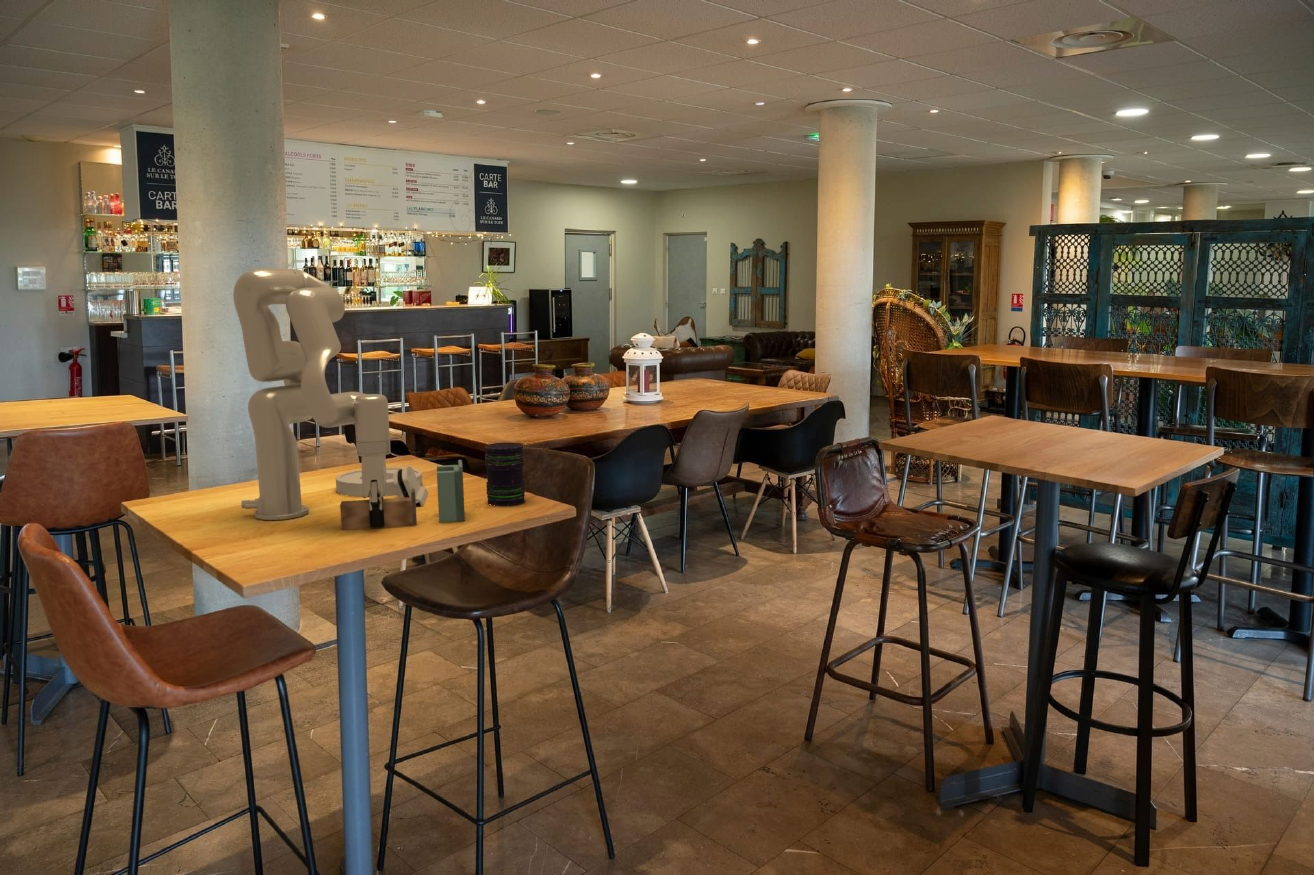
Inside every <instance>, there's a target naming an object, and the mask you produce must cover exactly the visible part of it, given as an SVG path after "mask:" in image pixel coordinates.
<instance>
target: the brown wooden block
mask: <svg viewBox="0 0 1314 875" xmlns="http://www.w3.org/2000/svg"><path fill="white" fill-rule="evenodd" d="M378 501H379V500H378ZM379 505H380V504H379ZM339 506H340V507H339V509H340V510H339V511H340V521H341V522H340V523H341V524H340V527H341V531H349V530H350V531H351V530H352V529H353V530H367V528H368V529H382V528H384V527H385V528H397V527H398V528H399V527H413V526H412V525H416V526H417V524H418V523H417V520H418V519H417V503H416V497H415V489H412V490H411V497H407V498H399V497H391V498H383V499H382V510H384V527H373V528H371V527H370V517H369V510H370V502H369V499H358V500H355V499H354V500H341V502H340V505H339ZM353 530H352V531H353Z"/></svg>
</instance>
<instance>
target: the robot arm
mask: <svg viewBox="0 0 1314 875" xmlns="http://www.w3.org/2000/svg"><path fill="white" fill-rule="evenodd" d="M232 295H233V296H232V297H233V303H234V307H235V310H236V314H237V317H238V320H239V323H240V326H241V327H240V328H241V332H242V333H241V334H242V339H243V344H244V350H245V358H246V363H247V367H248V371H249V372H248V373H249V374H250V376H251V377H252V378H253V380H255V381H256V382H262V383H269V382H280V381H283V384H284V385H279V386H270V387H266V388H265V387H264V388H262V389H258V390H257V391H256V392H254V393H253V394H252V395H251V396H250V398H249V400H248V403H247V409H248V415H249V419H250V422H251V426H252V430H253V435H254V436H253V437H254V444H255V454H256V463H257V464H256V466H257V478H258V481H257V482H258V492H259V497H258V498H255V499H254V500H249V499H247V500H241V509H245V510H252V509H254V510H255V511H254V513H253V516H254V518H255V519H258V520H264V521H280V520H289V519H290V520H291V519H295V518H299V517H303V516H306V515H307V514H308V513H309V512H310V511H309V510H310V509H309V506H307V505H303V504H302V491H301V476H300V467H299V466H300V464H299V451H298V448H299V447H298V442H297V438H296V436H295V434H294V432H293V431H292V429H291V427H290V426H289V425H291V424H297V423H303V422H307V421H310V420H312V419H313V421H314V422H315V423H316V424H317V425H319V426H320V427H322V428H327V429H328V428H329V429H330V428H337V427H341V426H348V425H354V428H355V441H356V442H355V444H356V446H355V448H356V456H358V457H361V470H362V494H363V497H362V498H363V500H367V498H368V497H369V498H368V500H369V502H370V510H369V517H370V527H371V528H370V529H374V528H373V527H384V510H382V499H384V497H385V496H384V495H385V491H386V468H387V461H386V460H387V459H386V455H390V454H391V438H390V435H391V434H390V418H389V402H388V398H387V397H386V396H385V395H384V394H381V393H380V394H378V393H368V394H367V393H363V392H359V391H346V392H337V393H332V394H331V392H330V390H329V388H328V384H327V380H326V375H325V374H326V369H327V365H328V363H329V362H330V360H332V358H334V357H336V356H337V355H338V354H339V353H340V352H341V349H342V345H341V342H340V339H339V338H338V334H337V332H336V329H335V328H334V324H333V323H336V322H338V321H340V320H341V319H342V318H343V316H344V315H345V310H346V306H345V301H344V299H343V297H342V296H341V294H340V293H339V291H337V290H336V289H335V288H333V287H332V286H331V285H329V284H327V283H326V282H324V281H322V280H320V279H319V278H317V277H315V276H313V275H312V274H310V273H307V272H306V271H304V270H302V269H295V268H274V267H273V268H267V267H266V268H255V269H250V270H248V271H245V272H244V273H243V274H241V275H240V276H239V277H238V279H237V280H236V282H235V284H234V288H233V294H232ZM270 305H285V309H286V313H287V315H288V317H289V319H290V322H291V324H292V327H293V330H294V332H295V335H296V337H297V340H298V341H294V340H284V341H283V340H282V334H281V328H280V323H279V321H278V319H277V317H276V315H275V314H274V313H273V312H272V310H271V309H270V308H269V306H270ZM368 494H369V496H368ZM378 500H379V501H378ZM379 504H380V505H379Z"/></svg>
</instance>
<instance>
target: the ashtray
mask: <svg viewBox="0 0 1314 875" xmlns="http://www.w3.org/2000/svg"><path fill="white" fill-rule="evenodd" d="M403 468H404V467H386V491H385V495H384V496H383V497H392V496H398V493H397V491H396V488H395V486H394V483H393V475H394V472H396V471H397V470H399V469H403ZM412 469H413V471H414V473H415V475H416V477H417V479H418V481H419V484H420V486H422V487H423V484H424V483H423V472H422V471H421V470H419V469H415V468H412ZM335 488H336V489H335V490H336V493H337V492H338V493H340V494H339V495H341V494H342V495H341V496H345V495H348V496H347V497H352V496H354V498H355V497H356V498H363V494H362V469H357V470H353V471H352V470H351V471H347V472H343V473H341V474H339V475H337V476H336V477H335ZM338 493H337V494H338ZM368 497H369V494H368Z"/></svg>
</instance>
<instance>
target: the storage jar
mask: <svg viewBox="0 0 1314 875" xmlns="http://www.w3.org/2000/svg"><path fill="white" fill-rule="evenodd" d="M484 450H485V452H484V453H485V457H484V459H485V460H484V461H485V464H484V465H485V468H486V477H487V478H486V479H487V480H486V485H485V487H486V489H485V490H486V498H487V502H488V504H491V505H495V506H494V507H496V506H509V507H516V506H520V505H523V504H525V503H526V500H525V496H526V487H525V486H526V483H525V480H524V466H525V462H524V460H525V455H524V444H523V443H519V442H496V443H488V444H486V445H484ZM488 504H487V505H488Z"/></svg>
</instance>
